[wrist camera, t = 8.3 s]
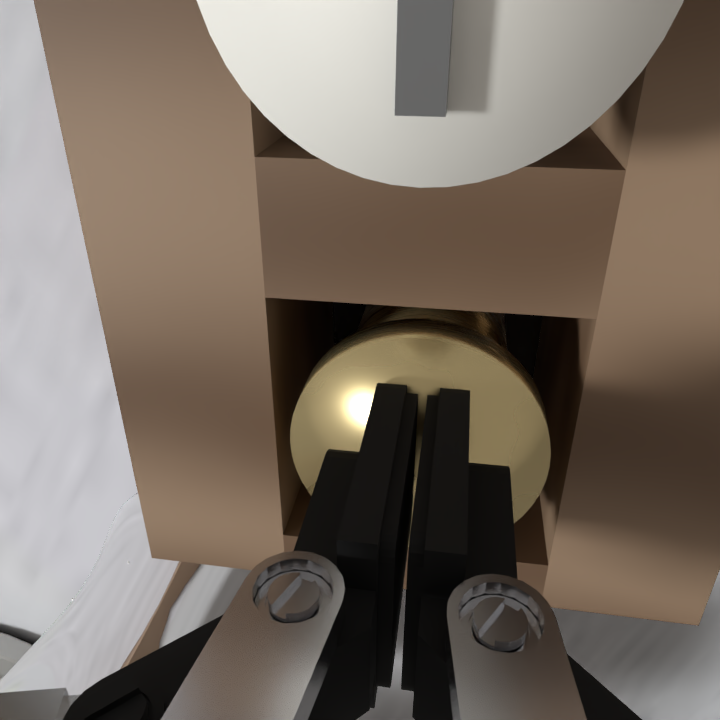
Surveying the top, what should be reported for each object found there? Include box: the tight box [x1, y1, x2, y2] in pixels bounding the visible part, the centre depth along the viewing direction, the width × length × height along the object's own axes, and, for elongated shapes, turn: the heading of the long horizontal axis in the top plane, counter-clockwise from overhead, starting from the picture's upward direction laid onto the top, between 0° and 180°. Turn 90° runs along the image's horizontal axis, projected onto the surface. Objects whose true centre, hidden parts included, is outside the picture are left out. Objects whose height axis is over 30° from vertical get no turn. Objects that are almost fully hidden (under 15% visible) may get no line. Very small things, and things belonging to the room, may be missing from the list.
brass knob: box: [290, 304, 551, 549], centre depth 15 cm, size 5×5×6 cm
